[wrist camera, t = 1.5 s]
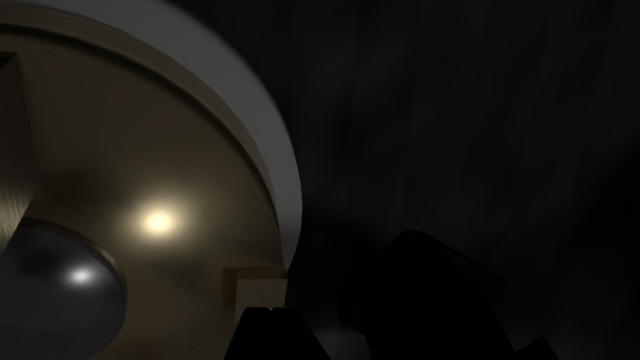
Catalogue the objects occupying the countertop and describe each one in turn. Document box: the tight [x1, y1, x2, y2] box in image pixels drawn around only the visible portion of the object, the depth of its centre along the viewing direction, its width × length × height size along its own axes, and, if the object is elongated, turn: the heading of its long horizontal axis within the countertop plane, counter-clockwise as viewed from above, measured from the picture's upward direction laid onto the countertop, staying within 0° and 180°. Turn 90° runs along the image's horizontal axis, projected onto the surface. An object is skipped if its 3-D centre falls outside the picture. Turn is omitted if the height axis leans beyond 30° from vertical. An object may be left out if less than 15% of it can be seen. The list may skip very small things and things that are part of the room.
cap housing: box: [0, 0, 302, 271], centre depth 19 cm, size 18×18×2 cm
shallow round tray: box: [0, 3, 288, 360], centre depth 16 cm, size 16×16×7 cm
